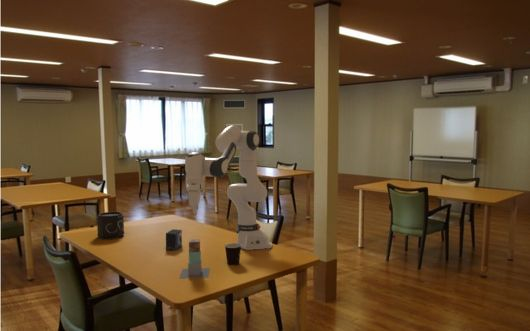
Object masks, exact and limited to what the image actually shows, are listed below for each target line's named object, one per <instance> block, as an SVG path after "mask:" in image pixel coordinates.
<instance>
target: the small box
mask: <svg viewBox="0 0 530 331" xmlns="http://www.w3.org/2000/svg"><path fill="white" fill-rule="evenodd" d="M182 230H183V229H171V230H169V231H167V232H166V233H165V251H176V250H178V249H180V248H181V247H182V246H183V240H182V239H183V235H182V234H183V231H182Z"/></svg>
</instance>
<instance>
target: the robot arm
mask: <svg viewBox="0 0 530 331" xmlns="http://www.w3.org/2000/svg"><path fill="white" fill-rule="evenodd" d="M259 145H260V136H259V134H258V132H257V131H255V130H241V128H240V127H239V126H238V125H235V124H231V125H229V126H227V127H226V128H224V129H223V130H222V131H221V132H220V133H219V135H217V137H216V139H215V147H216V149H217V150H218V151H219V152H220V153H222V155H221V156H220V157H206V156H203V155H202V153H201V152H199V151H194V152H189V153H187V154H186V156H185V159H184V160H185V161H184V171H185V188H186V191H187V195H188V202H189V203H188V204H189V207H191V209H192V214H193V215H194V214H195V215H196V214H197V210H198V209H199V202H200V199H201V191H202V189H203V188H204V177H213V178H218V179H220V178H223V177H224V176H226V174H227V172H228V170H229V166H230V165H231V162H232V161H233V159H234V157H235V155H236V151H237V150H240V151H239V159H238V174H239V175H240V176H241V177H242V178H244V179H245V181H246V183H241V182H239V183H238V182H237V183H232V184H229V186H228V188H227V191H226V195H227V198H228V199H229V200H230V201H232V202H233V204H234V205H235V207H236V211H237V216H238V217H237V220H238V221H237V222H238V223H237V239H236V240H237V241H236V243H237V244H241V250H242V249H243V250H246V251H251V250H252V251H253V250H254V249H255V250H263V249H264V250H266V249H271V248H272V247H273V243H272V242H271V240H269V236H268V234H266V232H264V231H263V230H261V225H260V224H259V223H258V222H257V211H256V210H255V208H254V207H252V206H251V205H250V204H249V203H258V202H264V201H265V200H266V199H267V197H268V189H267V187H266V186H265V185H264V184H263V183H262V182H261V181H260V179H259V176H258V153H257V148H258V147H259ZM248 202H249V203H248ZM265 248H266V249H265Z"/></svg>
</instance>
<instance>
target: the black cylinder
mask: <svg viewBox="0 0 530 331" xmlns="http://www.w3.org/2000/svg"><path fill="white" fill-rule="evenodd" d="M96 220H97V224H96V226H97V228H96V229H97V237H98V238H99V239H100V238H102V239H101V240H114V239H113V238H116V239H119V238H118V237H120V238H122V237H124V234H125V222H124V214H123V212H121V211H105V212H102V213H98V216H96ZM121 236H122V237H121Z"/></svg>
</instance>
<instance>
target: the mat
mask: <svg viewBox="0 0 530 331" xmlns="http://www.w3.org/2000/svg"><path fill="white" fill-rule="evenodd" d="M210 271H211V268H210V267H202V271H201V275H188V268H182V269H181V272H180V275H179V278H178V279H180V280H182V279H184V280H185V279H204V278H205V279H207V278H208V279H209V274H210Z"/></svg>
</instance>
